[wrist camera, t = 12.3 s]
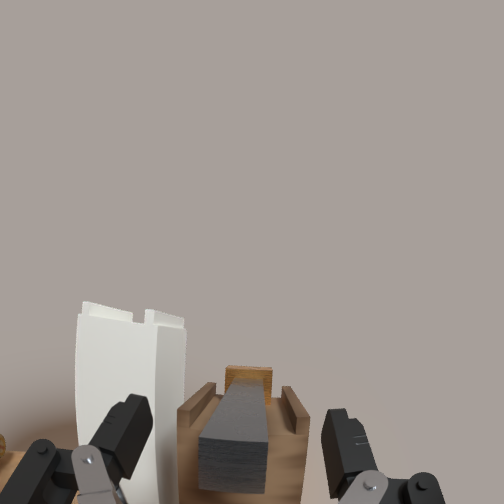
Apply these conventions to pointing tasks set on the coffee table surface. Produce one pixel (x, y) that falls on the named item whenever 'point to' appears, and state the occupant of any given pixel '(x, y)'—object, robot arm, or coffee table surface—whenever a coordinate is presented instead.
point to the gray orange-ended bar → (237, 434)
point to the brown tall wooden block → (279, 450)
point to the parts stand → (133, 388)
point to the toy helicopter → (2, 446)
